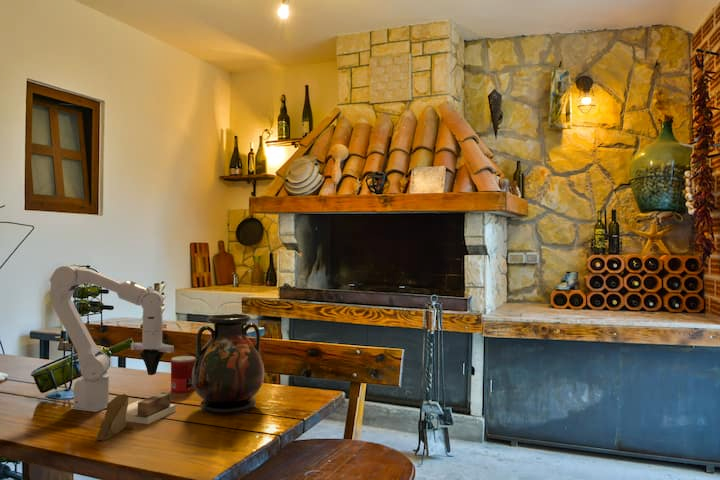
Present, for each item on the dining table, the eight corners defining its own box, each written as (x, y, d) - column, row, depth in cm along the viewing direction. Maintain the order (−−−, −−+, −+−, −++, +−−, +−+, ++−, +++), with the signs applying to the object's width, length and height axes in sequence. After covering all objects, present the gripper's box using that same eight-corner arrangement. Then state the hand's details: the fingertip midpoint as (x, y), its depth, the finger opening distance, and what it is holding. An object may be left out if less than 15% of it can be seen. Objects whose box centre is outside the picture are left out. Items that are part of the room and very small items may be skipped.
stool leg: (164, 403, 162) (164, 391, 162) (172, 403, 161) (172, 392, 161) (137, 415, 151) (137, 402, 151) (146, 416, 150) (147, 403, 150)
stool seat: (108, 419, 153) (108, 412, 154) (139, 406, 166) (139, 400, 166) (146, 424, 149) (146, 417, 149) (175, 411, 162) (175, 404, 162)
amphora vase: (196, 423, 151) (197, 323, 151) (187, 402, 170) (188, 313, 171) (272, 414, 160) (272, 319, 160) (255, 395, 179) (255, 310, 179)
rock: (107, 435, 135) (141, 419, 143) (91, 405, 137) (126, 391, 145) (89, 453, 140) (123, 436, 148) (74, 424, 142) (108, 409, 150)
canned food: (191, 393, 180) (191, 360, 180) (167, 393, 180) (167, 360, 181) (198, 387, 188) (198, 355, 188) (175, 387, 188) (175, 355, 188)
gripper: (180, 329, 169) (179, 373, 169) (142, 327, 174) (141, 369, 174) (165, 333, 163) (165, 378, 163) (126, 330, 167) (125, 374, 167)
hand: (151, 374), depth 168 cm, fingers closed
